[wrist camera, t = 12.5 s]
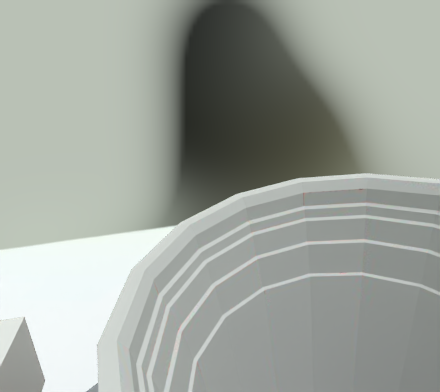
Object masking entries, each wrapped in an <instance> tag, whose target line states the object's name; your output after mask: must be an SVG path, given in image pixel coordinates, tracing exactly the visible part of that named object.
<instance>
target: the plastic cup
mask: <svg viewBox="0 0 440 392" xmlns="http://www.w3.org/2000/svg"><path fill="white" fill-rule="evenodd" d="M97 355H98V392H440V179H430V178H418V177H405V176H392V175H379V174H367V173H365V174H351V175H338V176H324V177H310V178H298V179H294V180H290V181H286V182H282V183H278V184H274V185H270V186H266V187H262V188H258V189H254V190H251V191H247V192H243V193H239V194H236V195H234V196H232V197H230V198H228V199H226V200H224V201H222V202H220V203H218V204H216V205H214V206H212V207H210V208H208V209H206V210H204V211H203V212H200V213H198V214H196V215H194V216H192V217H190V218H189V219H187V220H185V221H183V222H181V223H179V224H178V225H177V226H176V227H175V228H174V229H173V230H172V231H171V232H170V233H169V234H168V235H167V236H166V237H165V238H164V239H163V240H162V241H161V242H160V243H159V244H158V245H156V246H155V247H154V248H153V249H152V250H151V251H150V252H149V253H148V254H147V255H146V256H145V257H144V258H143V259H142V260H141V261H140V262H139V263H138V264H137V265H136V266H134V267H133V268H132V269H131V272H130V274H129V276H128V278H127V280H126V283H125V285H124V287H123V289H122V291H121V294H120V296H119V298H118V300H117V302H116V305H115V307H114V309H113V311H112V313H111V316H110V318H109V320H108V322H107V325H106V327H105V329H104V331H103V333H102V336H101V338H100V340H99V342H98V344H97Z"/></svg>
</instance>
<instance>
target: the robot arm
mask: <svg viewBox="0 0 440 392" xmlns="http://www.w3.org/2000/svg"><path fill="white" fill-rule="evenodd" d="M44 382H45V379H44V376H43V373H42V370H41V366H40V363H39V360H38V357H37V354H36V351H35V348H34V345H33V342H32V339H31V336H30V333H29V330H28V327H27V323H26V320H25V317H21V318H14V319H6V320H0V392H41V391H42V388H43V385H44Z"/></svg>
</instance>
